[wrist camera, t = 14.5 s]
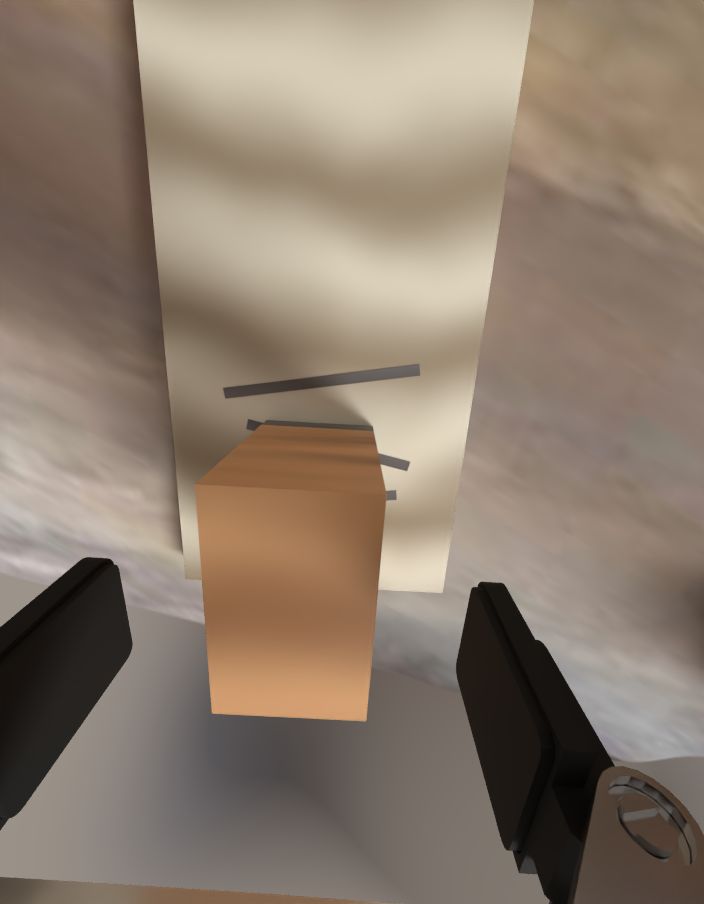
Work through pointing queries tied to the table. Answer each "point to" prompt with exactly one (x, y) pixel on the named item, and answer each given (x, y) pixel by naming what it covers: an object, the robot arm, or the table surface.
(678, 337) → the table surface
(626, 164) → the table surface
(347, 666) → the block
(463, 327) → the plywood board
